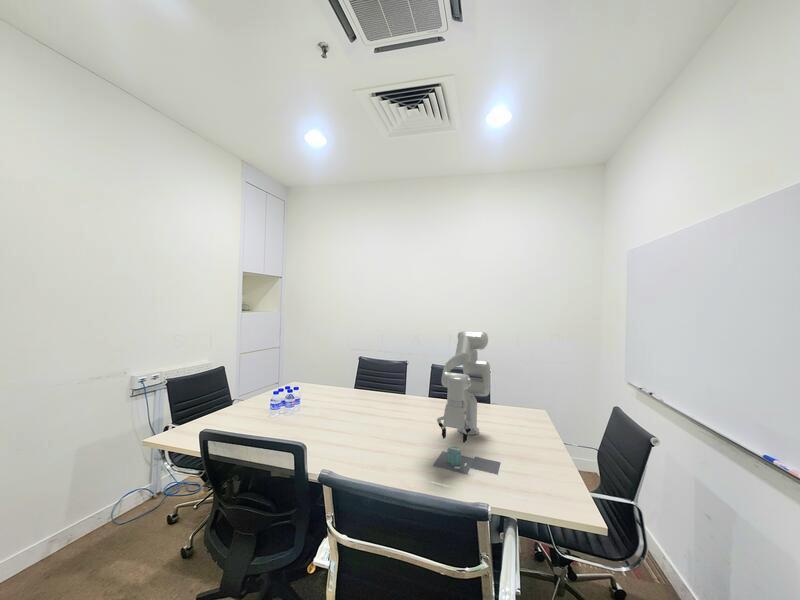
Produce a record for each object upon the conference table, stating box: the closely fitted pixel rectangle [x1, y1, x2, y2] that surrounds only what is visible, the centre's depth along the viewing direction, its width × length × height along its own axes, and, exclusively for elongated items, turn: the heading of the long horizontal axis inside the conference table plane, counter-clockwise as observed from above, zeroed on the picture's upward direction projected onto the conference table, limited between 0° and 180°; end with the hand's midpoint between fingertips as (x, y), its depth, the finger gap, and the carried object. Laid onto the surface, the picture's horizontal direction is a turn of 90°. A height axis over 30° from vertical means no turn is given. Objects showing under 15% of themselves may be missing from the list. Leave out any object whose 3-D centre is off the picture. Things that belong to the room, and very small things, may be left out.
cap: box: [446, 445, 462, 465], centre depth 147 cm, size 6×6×6 cm
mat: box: [470, 456, 501, 476], centre depth 144 cm, size 12×12×1 cm
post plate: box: [432, 451, 475, 475], centre depth 147 cm, size 16×16×5 cm
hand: (454, 439), depth 146 cm, fingers open, 9 cm apart
